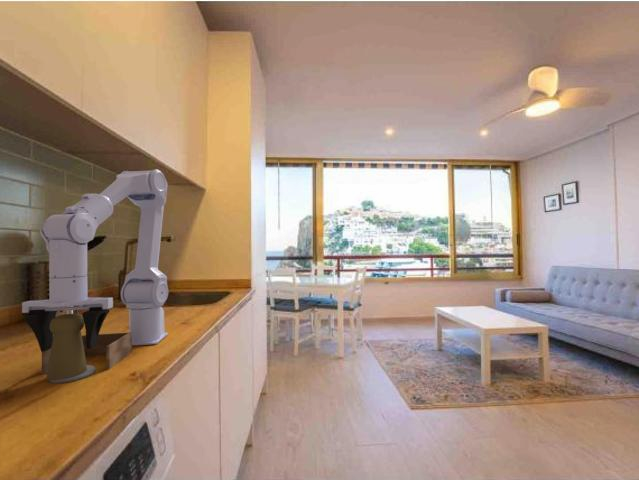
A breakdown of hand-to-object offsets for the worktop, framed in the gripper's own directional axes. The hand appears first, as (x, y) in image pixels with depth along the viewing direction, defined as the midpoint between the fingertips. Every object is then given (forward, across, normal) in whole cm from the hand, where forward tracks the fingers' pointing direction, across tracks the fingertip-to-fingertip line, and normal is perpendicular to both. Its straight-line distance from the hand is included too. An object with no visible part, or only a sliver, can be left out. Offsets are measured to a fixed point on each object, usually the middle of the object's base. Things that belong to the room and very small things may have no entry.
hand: (69, 348), depth 61 cm
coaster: (+5, 0, 0) cm, 5 cm away
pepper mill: (+5, 0, 0) cm, 5 cm away
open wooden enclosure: (+5, 0, +7) cm, 9 cm away
